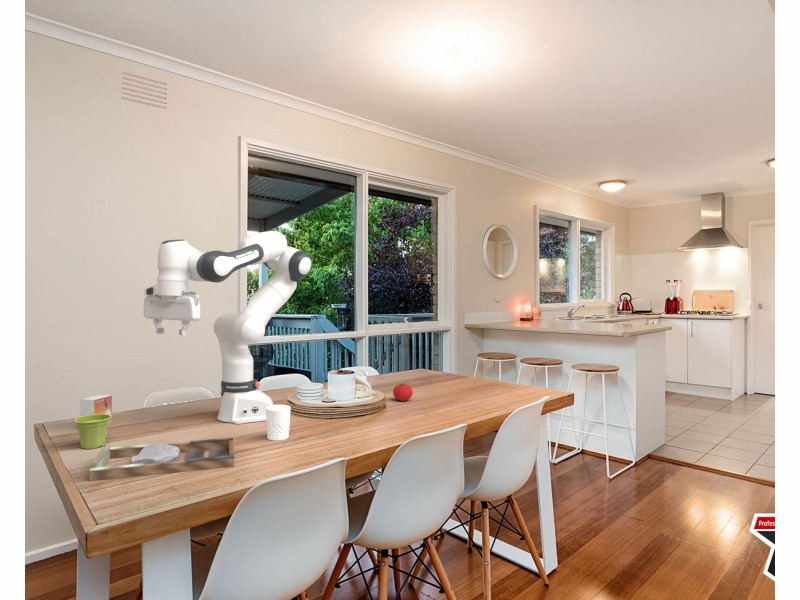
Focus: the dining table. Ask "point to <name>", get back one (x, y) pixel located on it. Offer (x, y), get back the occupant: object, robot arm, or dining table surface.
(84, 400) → the small box
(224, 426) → the dining table surface
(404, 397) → the tomato
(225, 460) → the box
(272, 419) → the white cup
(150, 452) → the stone block
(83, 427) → the plant pot
